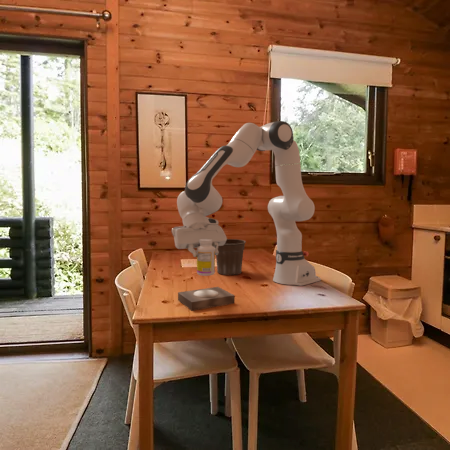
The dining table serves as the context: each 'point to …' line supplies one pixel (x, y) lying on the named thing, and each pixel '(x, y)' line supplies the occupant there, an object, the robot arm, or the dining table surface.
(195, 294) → the walnut board
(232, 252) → the plant pot
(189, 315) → the dining table surface
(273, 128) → the robot arm
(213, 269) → the supplement bottle
